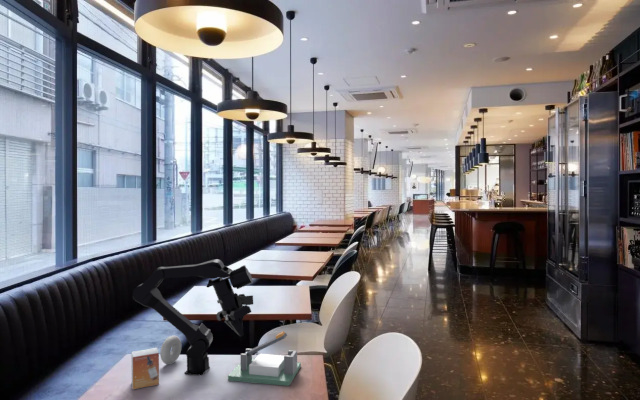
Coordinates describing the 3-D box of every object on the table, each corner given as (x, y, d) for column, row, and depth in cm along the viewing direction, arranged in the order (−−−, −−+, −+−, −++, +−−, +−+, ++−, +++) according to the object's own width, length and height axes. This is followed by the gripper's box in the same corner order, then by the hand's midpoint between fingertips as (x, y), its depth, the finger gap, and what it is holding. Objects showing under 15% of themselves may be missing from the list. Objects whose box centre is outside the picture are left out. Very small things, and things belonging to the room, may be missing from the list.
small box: (132, 390, 129) (131, 357, 129) (131, 383, 134) (131, 351, 134) (159, 384, 133) (159, 352, 133) (157, 377, 138) (157, 346, 138)
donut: (166, 369, 144) (166, 341, 144) (158, 368, 145) (157, 340, 145) (183, 358, 154) (183, 332, 154) (175, 357, 155) (175, 331, 155)
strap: (243, 358, 141) (241, 353, 141) (247, 355, 144) (244, 350, 144) (284, 338, 138) (282, 333, 138) (287, 335, 141) (284, 330, 141)
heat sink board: (227, 380, 136) (227, 357, 136) (245, 362, 150) (245, 341, 150) (288, 385, 131) (288, 362, 131) (300, 366, 146) (300, 345, 146)
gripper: (255, 282, 140) (272, 325, 139) (236, 286, 155) (251, 325, 155) (226, 296, 134) (244, 341, 133) (209, 299, 149) (225, 339, 148)
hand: (242, 336), depth 142 cm, fingers closed
